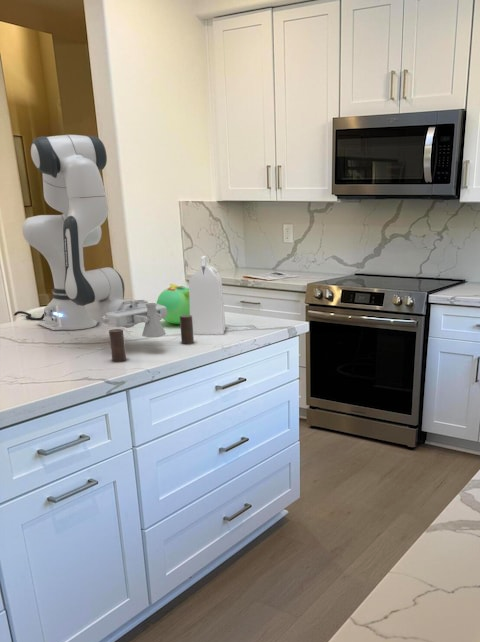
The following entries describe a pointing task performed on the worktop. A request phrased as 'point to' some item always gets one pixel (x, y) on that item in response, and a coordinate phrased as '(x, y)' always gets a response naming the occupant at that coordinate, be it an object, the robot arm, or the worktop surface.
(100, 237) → the robot arm
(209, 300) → the milk
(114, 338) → the walnut peg front
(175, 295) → the toy bird
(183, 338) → the walnut peg back
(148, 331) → the flask
